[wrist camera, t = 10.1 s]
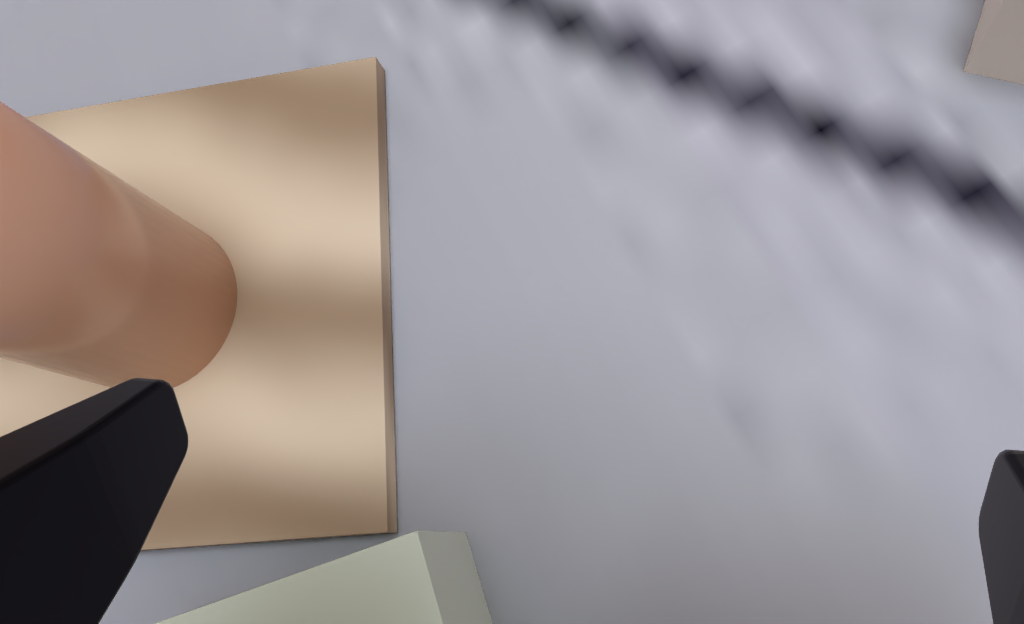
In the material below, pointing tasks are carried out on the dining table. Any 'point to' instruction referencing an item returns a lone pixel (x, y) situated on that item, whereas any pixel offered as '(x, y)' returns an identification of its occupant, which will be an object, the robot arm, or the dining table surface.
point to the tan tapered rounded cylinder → (101, 270)
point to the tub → (367, 589)
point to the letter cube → (999, 42)
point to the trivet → (265, 300)
